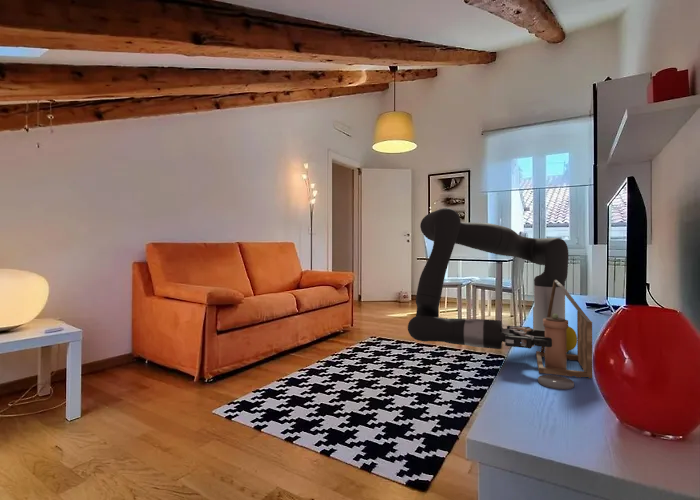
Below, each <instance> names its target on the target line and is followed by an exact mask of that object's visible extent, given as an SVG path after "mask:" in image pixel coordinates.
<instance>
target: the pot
mask: <svg viewBox="0 0 700 500" xmlns="http://www.w3.org/2000/svg"><path fill="white" fill-rule="evenodd" d="M558 317H559V316H558V314H553V315H552V317H547V318H544V319H543V326H544V327H545V337H549V338H551V339H552V347H545V349H544V352H545V357H544V367H547V368H556V369H566V370H568V369H567V368H568V367H567V361H568V359H567V354H568V352H566V328H568V326H569V320H567V319H566V318H565V319H563V318H558Z"/></svg>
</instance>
